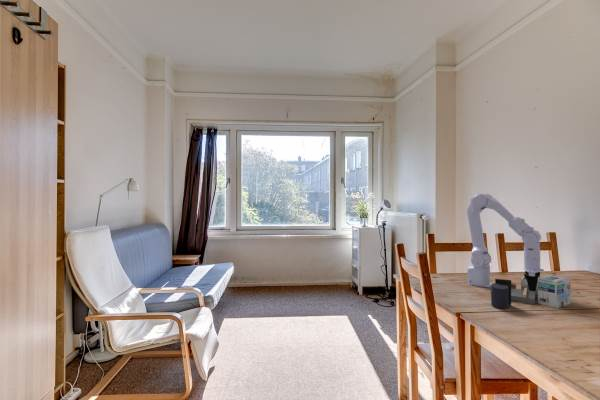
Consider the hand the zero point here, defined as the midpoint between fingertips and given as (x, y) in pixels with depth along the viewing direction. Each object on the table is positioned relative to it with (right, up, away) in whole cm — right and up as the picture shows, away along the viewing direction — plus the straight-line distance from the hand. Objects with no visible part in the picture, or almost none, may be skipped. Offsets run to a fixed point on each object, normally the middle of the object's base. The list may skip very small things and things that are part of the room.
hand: (532, 289), depth 139 cm
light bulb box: (-2, -2, -14) cm, 14 cm away
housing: (0, -1, 0) cm, 1 cm away
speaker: (-23, -3, -16) cm, 28 cm away
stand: (-12, -2, -6) cm, 13 cm away
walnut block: (-6, -2, +5) cm, 8 cm away
